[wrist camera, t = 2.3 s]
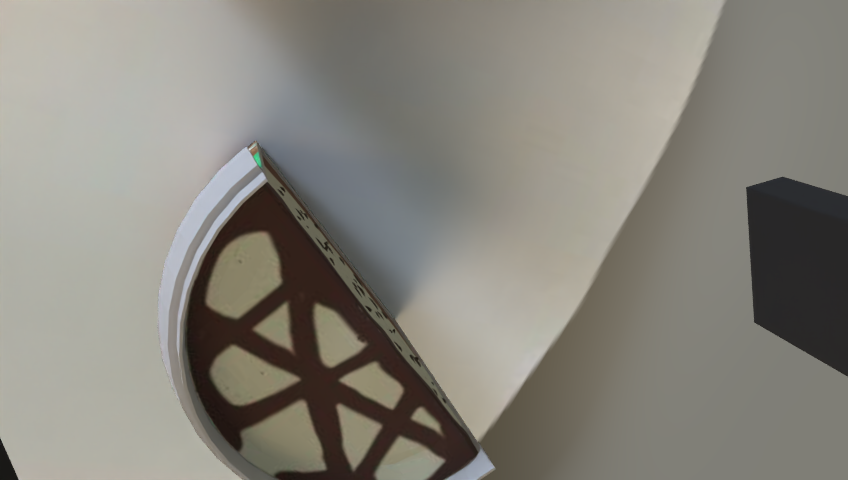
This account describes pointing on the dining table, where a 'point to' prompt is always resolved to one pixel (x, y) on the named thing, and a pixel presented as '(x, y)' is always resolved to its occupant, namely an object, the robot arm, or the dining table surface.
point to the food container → (295, 346)
